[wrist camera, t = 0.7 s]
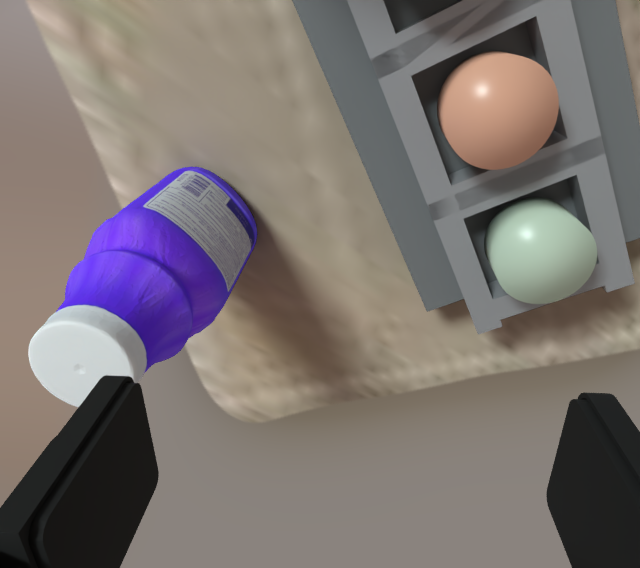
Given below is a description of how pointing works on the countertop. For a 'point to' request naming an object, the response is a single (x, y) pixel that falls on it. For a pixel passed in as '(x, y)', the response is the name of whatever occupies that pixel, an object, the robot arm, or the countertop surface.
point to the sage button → (539, 250)
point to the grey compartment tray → (452, 171)
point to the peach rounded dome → (497, 109)
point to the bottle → (145, 284)
